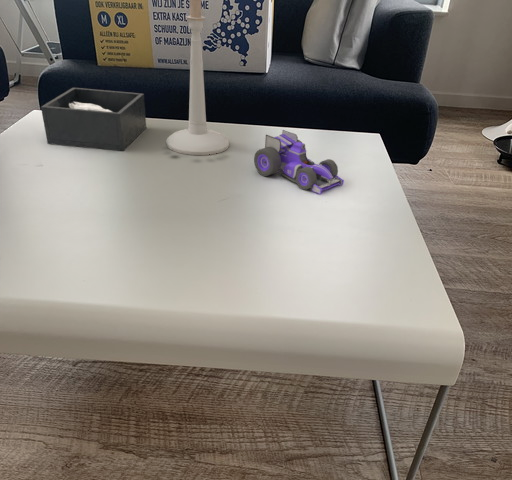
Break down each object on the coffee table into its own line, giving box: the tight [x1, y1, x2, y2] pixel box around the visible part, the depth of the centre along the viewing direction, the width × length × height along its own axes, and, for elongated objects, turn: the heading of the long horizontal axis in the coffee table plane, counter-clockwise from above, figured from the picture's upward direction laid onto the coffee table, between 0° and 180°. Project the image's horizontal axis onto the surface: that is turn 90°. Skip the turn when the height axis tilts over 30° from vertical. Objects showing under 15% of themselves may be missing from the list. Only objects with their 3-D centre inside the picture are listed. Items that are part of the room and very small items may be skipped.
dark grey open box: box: [40, 87, 147, 152], centre depth 112 cm, size 16×16×7 cm
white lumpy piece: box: [69, 102, 112, 112], centre depth 112 cm, size 5×7×10 cm
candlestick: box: [165, 0, 230, 156], centre depth 103 cm, size 13×13×30 cm
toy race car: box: [253, 129, 345, 195], centre depth 99 cm, size 10×15×6 cm, turn 46°
